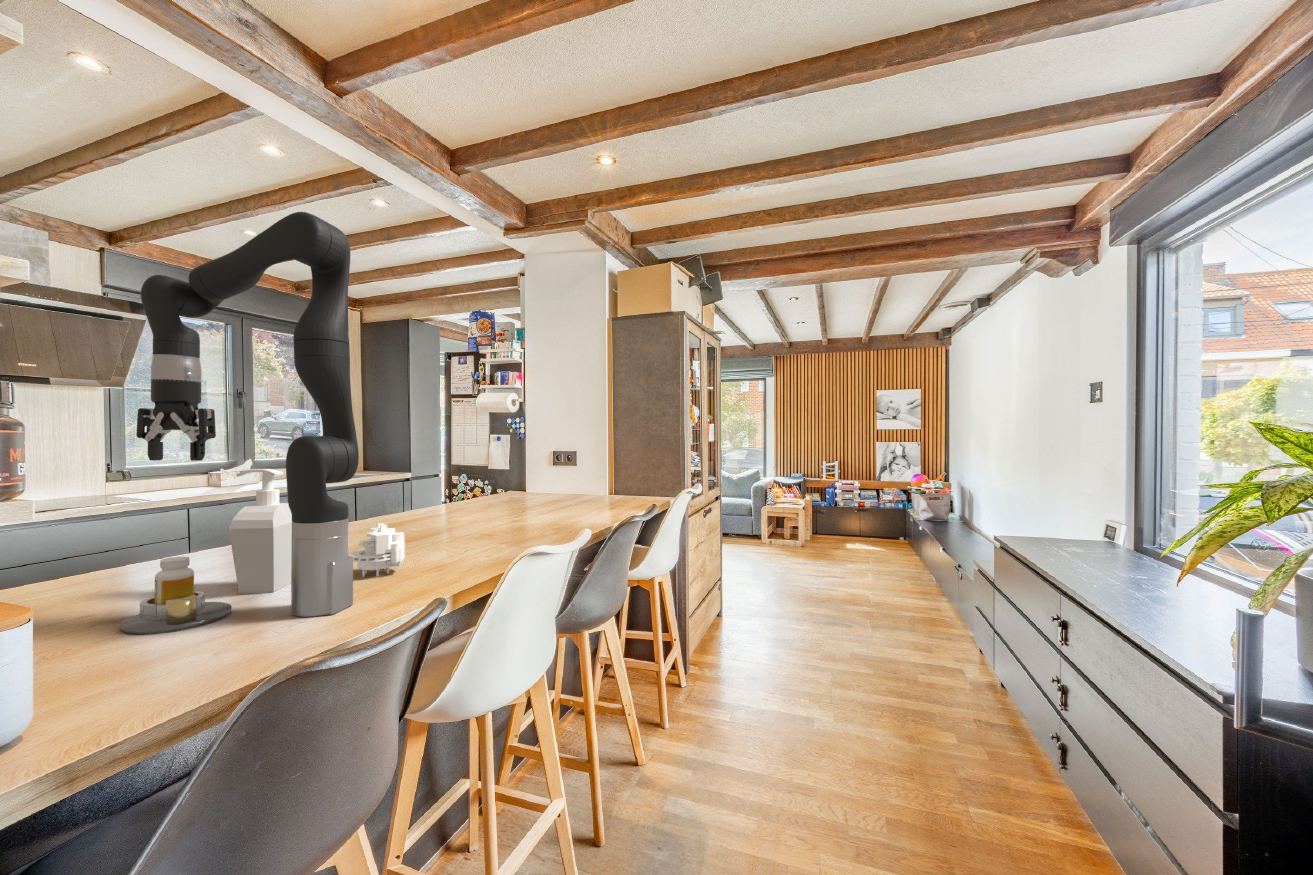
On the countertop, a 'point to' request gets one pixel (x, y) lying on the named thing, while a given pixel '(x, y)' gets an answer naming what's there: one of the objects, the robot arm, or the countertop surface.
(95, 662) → the countertop surface
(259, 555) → the soap bottle
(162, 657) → the countertop surface
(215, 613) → the carrier plate
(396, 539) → the mechanical part
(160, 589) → the supplement bottle
